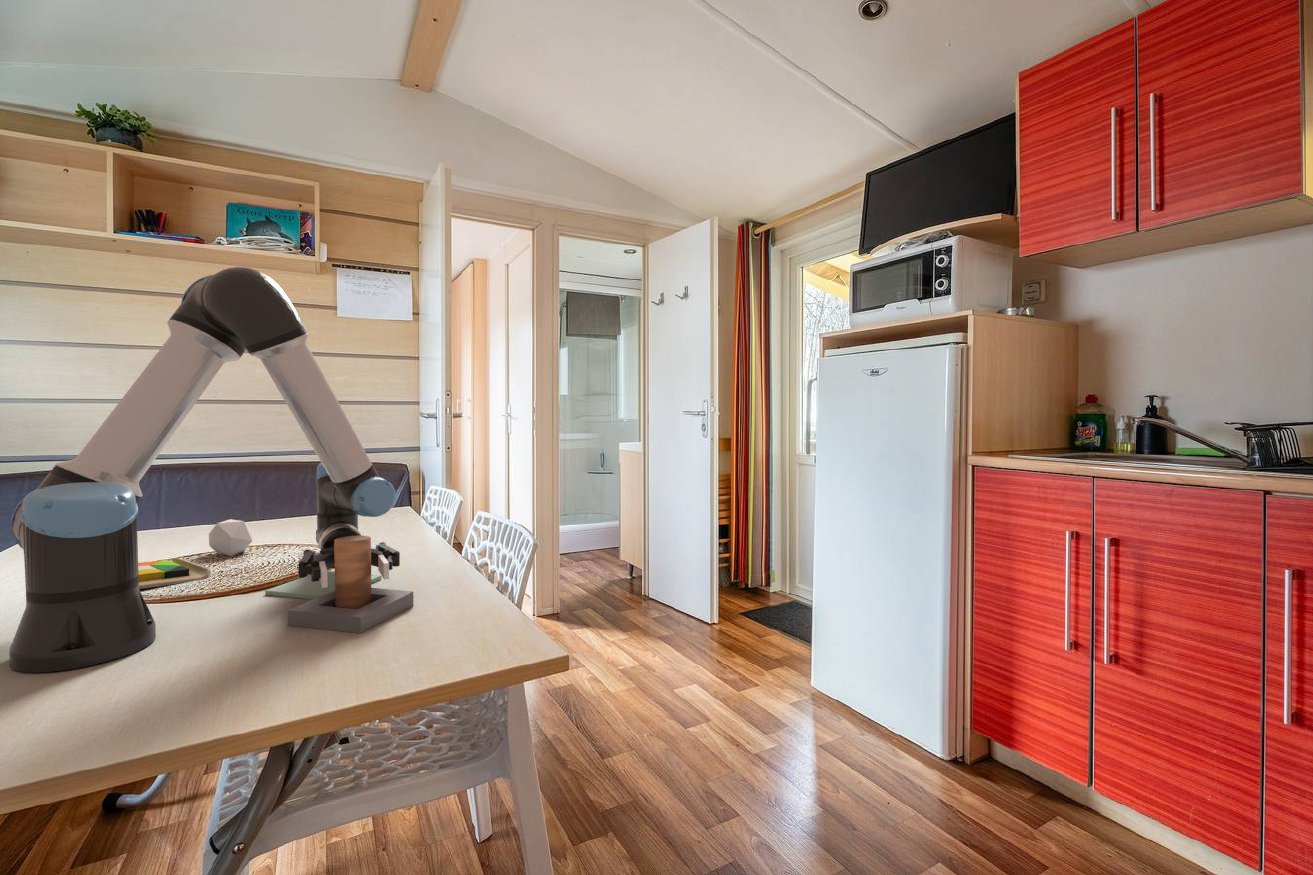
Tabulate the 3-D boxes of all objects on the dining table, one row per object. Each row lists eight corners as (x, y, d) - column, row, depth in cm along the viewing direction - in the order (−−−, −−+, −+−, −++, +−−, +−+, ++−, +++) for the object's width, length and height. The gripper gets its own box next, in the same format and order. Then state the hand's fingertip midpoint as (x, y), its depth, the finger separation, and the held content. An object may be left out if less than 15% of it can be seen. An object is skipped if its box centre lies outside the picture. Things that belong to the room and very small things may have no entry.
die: (261, 554, 143) (259, 518, 147) (236, 544, 135) (234, 506, 140) (227, 567, 142) (225, 530, 147) (199, 557, 135) (199, 519, 139)
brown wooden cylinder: (356, 622, 99) (355, 543, 98) (327, 618, 100) (326, 541, 99) (378, 610, 104) (377, 536, 103) (351, 608, 105) (350, 534, 104)
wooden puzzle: (213, 579, 123) (213, 562, 123) (90, 604, 107) (90, 585, 107) (177, 565, 132) (177, 550, 132) (60, 587, 116) (59, 569, 116)
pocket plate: (360, 633, 94) (360, 617, 94) (287, 625, 97) (287, 609, 97) (413, 605, 107) (413, 591, 107) (347, 599, 110) (347, 585, 110)
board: (330, 601, 109) (330, 596, 109) (265, 594, 112) (265, 590, 112) (381, 579, 122) (381, 575, 122) (322, 574, 125) (322, 570, 125)
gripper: (401, 558, 122) (424, 588, 103) (278, 572, 111) (280, 608, 92) (400, 522, 122) (424, 544, 103) (277, 532, 111) (279, 560, 92)
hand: (356, 575), depth 98 cm, fingers open, 8 cm apart
